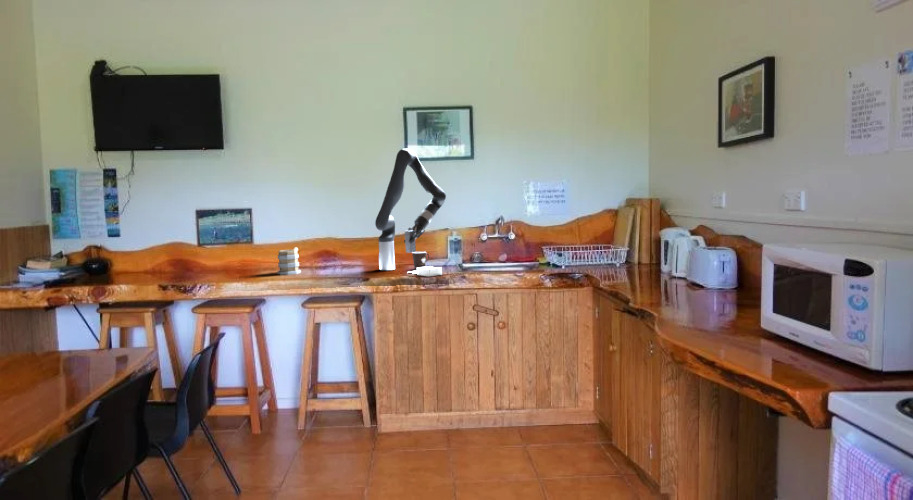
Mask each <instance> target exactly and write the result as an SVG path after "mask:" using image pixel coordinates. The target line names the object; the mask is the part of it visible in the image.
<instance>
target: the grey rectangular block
mask: <svg viewBox="0 0 913 500" xmlns="http://www.w3.org/2000/svg"><path fill="white" fill-rule="evenodd" d="M413 234H414V231H408V230H405V231H404V240H405V242H404V243H405V253H408V254H410V253H413V252H417V250H416V239H415V240H414V241H413V243H412V244H410V243H409V240H410V238H411V237H412V236H413Z"/></svg>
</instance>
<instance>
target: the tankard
mask: <svg viewBox="0 0 913 500" xmlns="http://www.w3.org/2000/svg"><path fill="white" fill-rule="evenodd" d="M298 251H299V248H298V247H296V246H295V247H294V248H293V249H283V250H278V254H277V260H279V261H278V264H277V265H278V266H277V267H278V268H279V270H277V272H276V273H277V275H279V274H280V275H279V276H292V275H298V274H301V273H302V270H301V269H300V268H299V266H300V262H299V258H300V256H299V253H298ZM291 274H292V275H291Z"/></svg>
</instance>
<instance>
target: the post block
mask: <svg viewBox="0 0 913 500" xmlns="http://www.w3.org/2000/svg"><path fill="white" fill-rule="evenodd" d="M408 273H412V274H411V275H414V274H417V276H422V277H428V278H429V277H434V276H435V277H436V276H442V275H443V267H441V266H440V267H439V266H438V267H434V266H433V265H432V266H431V265H429V266H427V265H426V266H425V267H419V268H417V269H416V270H412V271H407V274H408Z"/></svg>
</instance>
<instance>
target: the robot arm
mask: <svg viewBox="0 0 913 500" xmlns="http://www.w3.org/2000/svg"><path fill="white" fill-rule="evenodd" d="M394 161H395V162H394V165H393V170H392V173H391V177H390V180H389V183H388V184H387V185H388V186H387V189H386V192H385V195H384V198H383V201H382V204H381V207H380V209H379V211H378V214H377V216H376V218H375V222H374V224H375V228H376V229H377V230H378V231H381V234H380V236H378V250H379V251H378V252H379V253H378V266H379V267H378V268H379V270H380V271H393V270H396V262H395V261H396V260H395V259H396V258H395V237H396V221H395V218H394V217H393V216H392V215H391V213H392V212H393V209H394V208H395V207H396V206H397V204H398V202H399V201H400V200H401V198H402V194H403V192H404V188H405V173H406V170H407V167H409V168H410V169H412V171H413V172H414V173H415V176H416V178H417V181H418V183H419V184H420V185H421V187H422V188H423V189H424V191H426V193H428V194H431V195H432V198H431V200H430V201H429V203H427V204H426V205H425V207H424V208H423V210H422V211H421V212H420V213H419V214H418V215H417V217H416V219H414V225H413V226H412V228H411V227H408V229H407V231H414V234H413V236H412V237H411V238H410V240H409V243H410V244H412V243H413V241H414V240H415V241H416V239H419V238H420V237H421V236H422V235H423V234H424V233H425V232H426V229H427V228H428V226H429V224H430V223H431V222H432V220H433V219H434V216H435V215H436V214H437V212H438V211H439V209H440V208H442V206H443V205H444V203H445V201H446V198H447V195H446V192H445V191H444V190H443V189H442V188H441V187H440V186H439V185H437V184H436V182H435V181H434V179H433V178H432V177H431V176H430V174H429V173H428V172H427V171H426V169H425V167H424V166H423V164H422V163H421V161H420V159H419V158H418V155H417V154H416V152H415V151H414V150H413V149H412V148H401V149H399V151H398V152H397V154H396V157H395V160H394ZM403 243H405V239H404V240H403Z"/></svg>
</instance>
